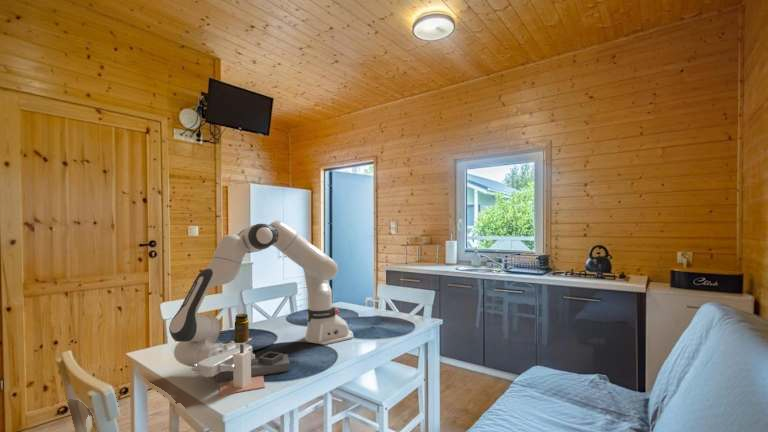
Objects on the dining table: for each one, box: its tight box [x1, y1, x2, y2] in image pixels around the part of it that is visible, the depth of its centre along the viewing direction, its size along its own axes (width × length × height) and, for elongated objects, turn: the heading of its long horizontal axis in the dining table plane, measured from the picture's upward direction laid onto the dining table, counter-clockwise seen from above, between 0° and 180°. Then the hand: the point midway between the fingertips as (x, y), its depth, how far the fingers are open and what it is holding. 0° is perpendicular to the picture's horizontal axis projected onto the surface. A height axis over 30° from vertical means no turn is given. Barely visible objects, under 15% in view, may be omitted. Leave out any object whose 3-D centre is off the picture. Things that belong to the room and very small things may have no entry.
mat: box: [218, 375, 266, 397], centre depth 125 cm, size 14×9×1 cm, turn 111°
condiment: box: [233, 313, 253, 344], centre depth 168 cm, size 7×8×12 cm
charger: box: [232, 344, 251, 388], centre depth 125 cm, size 4×4×14 cm
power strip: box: [215, 350, 291, 383], centre depth 136 cm, size 25×9×5 cm, turn 111°
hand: (244, 362), depth 124 cm, fingers open, 8 cm apart
